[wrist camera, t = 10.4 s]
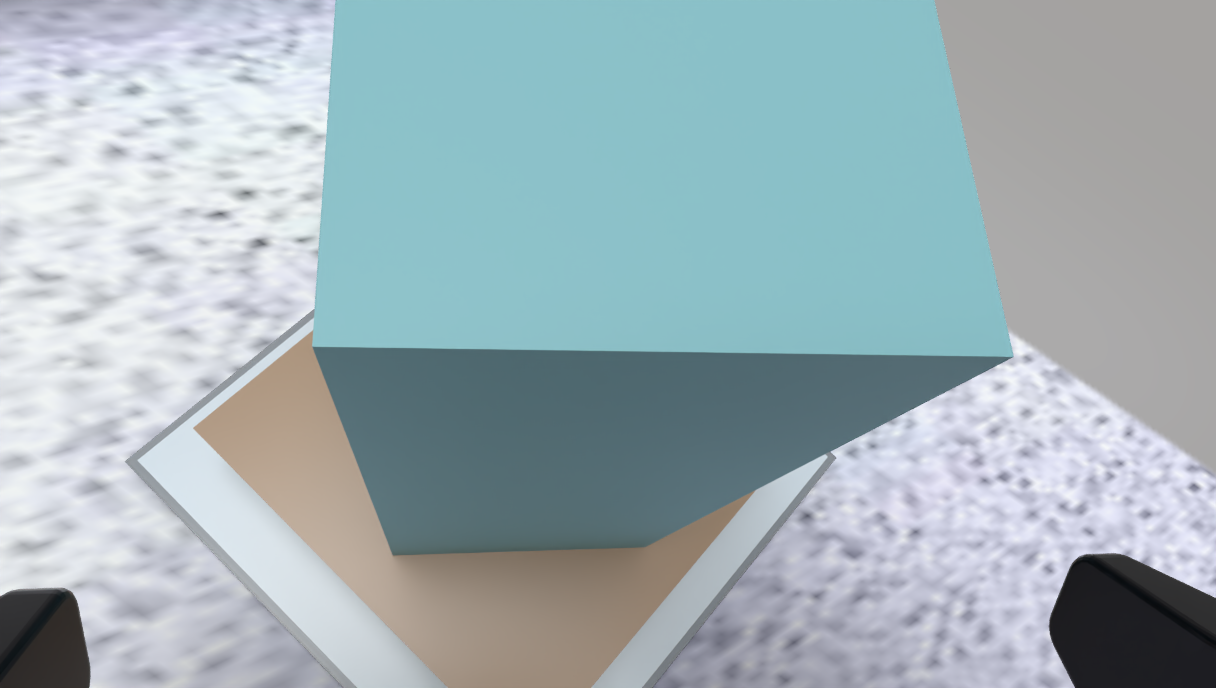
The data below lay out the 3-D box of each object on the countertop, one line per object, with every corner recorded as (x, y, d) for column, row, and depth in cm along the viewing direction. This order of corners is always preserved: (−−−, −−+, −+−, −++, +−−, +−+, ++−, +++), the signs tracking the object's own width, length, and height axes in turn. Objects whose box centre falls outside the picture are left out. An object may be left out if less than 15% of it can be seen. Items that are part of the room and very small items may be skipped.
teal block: (644, 547, 17) (1013, 357, 6) (392, 555, 16) (310, 347, 5) (629, 319, 19) (901, -144, 8) (400, 314, 18) (350, -223, 7)
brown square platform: (508, 852, 19) (526, 900, 15) (139, 470, 20) (71, 428, 16) (820, 465, 23) (893, 429, 19) (504, 173, 24) (516, 86, 21)
